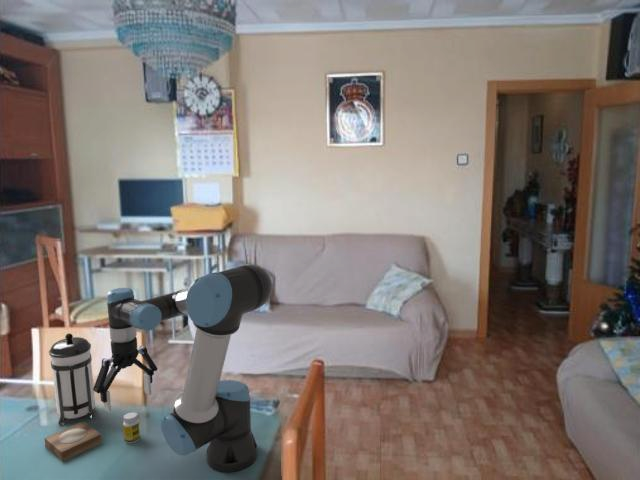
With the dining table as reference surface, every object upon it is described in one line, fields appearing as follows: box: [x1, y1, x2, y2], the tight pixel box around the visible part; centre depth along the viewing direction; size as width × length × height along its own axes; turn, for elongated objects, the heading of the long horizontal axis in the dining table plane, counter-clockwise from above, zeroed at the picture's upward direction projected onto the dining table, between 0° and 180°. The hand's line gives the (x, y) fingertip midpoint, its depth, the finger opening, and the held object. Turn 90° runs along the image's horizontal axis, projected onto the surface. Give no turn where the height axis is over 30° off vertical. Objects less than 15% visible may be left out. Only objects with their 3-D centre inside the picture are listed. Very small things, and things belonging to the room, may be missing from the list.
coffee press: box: [48, 332, 96, 426], centre depth 168 cm, size 17×16×30 cm
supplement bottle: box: [122, 412, 141, 444], centre depth 156 cm, size 5×5×8 cm
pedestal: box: [43, 421, 103, 462], centre depth 154 cm, size 12×12×3 cm
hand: (128, 401), depth 155 cm, fingers open, 13 cm apart
